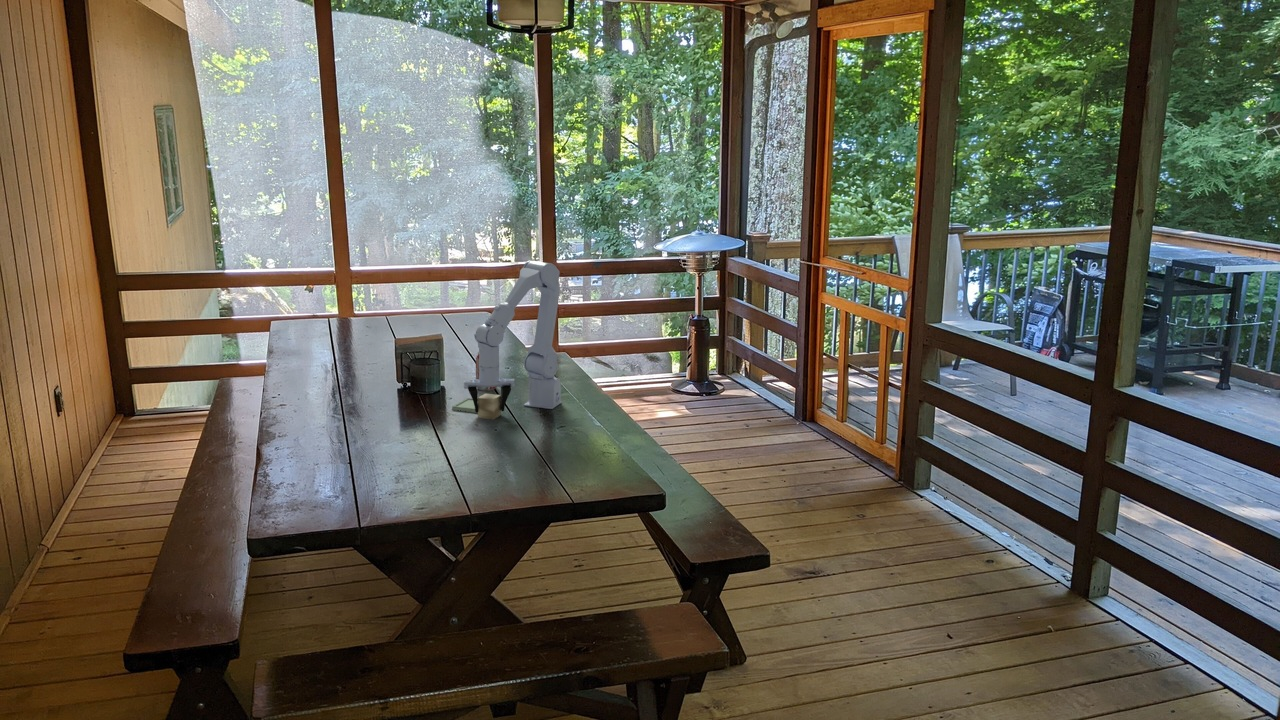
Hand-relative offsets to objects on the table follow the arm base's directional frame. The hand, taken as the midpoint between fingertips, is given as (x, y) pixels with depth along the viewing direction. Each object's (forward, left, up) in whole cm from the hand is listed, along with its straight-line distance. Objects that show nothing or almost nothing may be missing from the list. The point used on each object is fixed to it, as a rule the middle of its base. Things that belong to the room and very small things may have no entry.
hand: (489, 410), depth 272 cm
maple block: (0, 0, -2) cm, 2 cm away
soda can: (+14, -27, -2) cm, 30 cm away
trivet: (+8, -7, -2) cm, 10 cm away
